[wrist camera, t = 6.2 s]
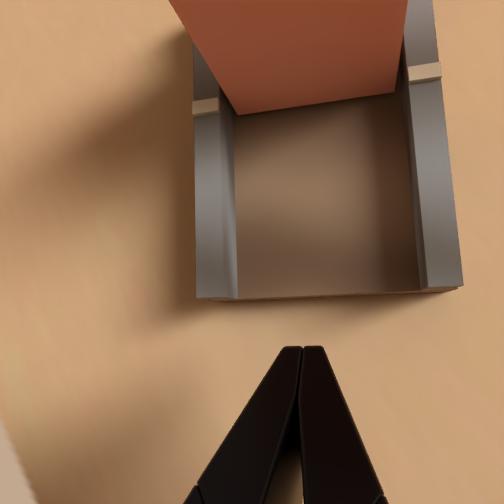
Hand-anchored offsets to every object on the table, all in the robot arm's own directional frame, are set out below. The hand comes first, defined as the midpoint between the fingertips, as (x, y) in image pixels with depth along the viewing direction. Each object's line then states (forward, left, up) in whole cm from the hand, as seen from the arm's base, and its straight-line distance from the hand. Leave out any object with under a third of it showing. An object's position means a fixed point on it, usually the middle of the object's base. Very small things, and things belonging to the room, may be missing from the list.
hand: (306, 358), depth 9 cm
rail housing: (+6, -5, -8) cm, 12 cm away
